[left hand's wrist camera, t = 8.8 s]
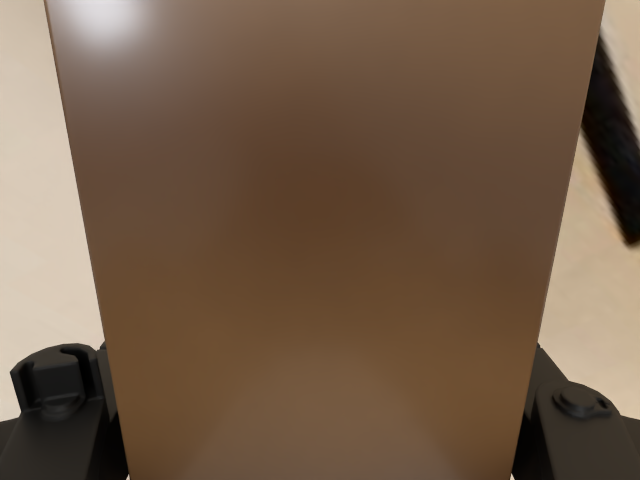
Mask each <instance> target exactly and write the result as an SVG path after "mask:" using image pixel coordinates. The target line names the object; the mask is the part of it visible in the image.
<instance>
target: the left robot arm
mask: <svg viewBox="0 0 640 480" xmlns="http://www.w3.org/2000/svg"><path fill="white" fill-rule="evenodd" d="M10 375H11V378H12V382H13V385H14V389H15V392H16V395H17V399H18V402H19V406H20V409H21V414H20V416H19V417H18V418H15V419H11V420H7V421H2V422H0V480H126V479H127V477H128V474H129V471H128V466H127V460H126V454H125V449H124V443H123V438H122V432H121V427H120V421H119V416H118V410H117V405H116V399H115V393H114V388H113V382H112V377H111V371H110V366H109V360H108V355H107V349H106V344H105V341H104V342H103V344H102V345H101V346H100V350H97V351H95V350H94V349H93V348H92V347H90V346H88V345H84V344H79V343H74V344H61V345H57V346H53V347H48V348H45V349H43V350H40V351H38V352H36V353H33V354H31V355H29V356H28V357H26V358H25V359H23V360H22V361H20V362H18V363H17V365H16V366H15V367H14V368H13V369H12V370H11V371H10ZM511 473H512V475H513V477H514V479H515V480H640V420H638V419H633V418H629V417H625V416H622V415H620V413H619V411H618V410H617V408H616V407H615V406H614V405H613V403H612V402H611V401H610V400H609V399H607V398H606V397H605V396H603V395H602V394H601V393H599V392H598V391H595V390H593V389H591V388H589V387H587V386H585V385H582V384H578V383H575V382H571V381H568V379H567V378H566V377H565V376H564V374H563V373H562V372H561V371H560V369H559V368H558V367H557V366H556V364H555V363H554V362H553V361H552V360H551V358H550V357H549V356H548V355H547V353H546V352H545V351H544V350H543V348H540V345H539V343H538V342H537V347H536V352H535V357H534V362H533V367H532V372H531V377H530V382H529V387H528V392H527V397H526V402H525V407H524V412H523V417H522V422H521V427H520V432H519V437H518V442H517V447H516V452H515V457H514V462H513V467H512V472H511Z"/></svg>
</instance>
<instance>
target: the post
mask: <svg viewBox="0 0 640 480" xmlns="http://www.w3.org/2000/svg"><path fill="white" fill-rule="evenodd" d="M44 5H45V11H46V16H47V22H48V27H49V33H50V38H51V44H52V50H53V55H54V61H55V66H56V72H57V77H58V83H59V88H60V94H61V99H62V105H63V111H64V116H65V122H66V127H67V133H68V138H69V144H70V149H71V155H72V160H73V166H74V172H75V177H76V183H77V188H78V194H79V199H80V205H81V210H82V216H83V221H84V227H85V233H86V238H87V244H88V249H89V255H90V260H91V266H92V271H93V277H94V283H95V288H96V294H97V299H98V305H99V310H100V316H101V321H102V327H103V332H104V338H105V344H106V349H107V355H108V360H109V366H110V371H111V377H112V382H113V388H114V393H115V399H116V405H117V410H118V416H119V421H120V427H121V432H122V438H123V443H124V449H125V454H126V460H127V466H128V471H129V477H130V480H510V477H511V472H512V467H513V462H514V457H515V452H516V447H517V442H518V437H519V432H520V427H521V422H522V417H523V412H524V407H525V402H526V397H527V392H528V387H529V382H530V377H531V372H532V367H533V362H534V357H535V352H536V347H537V342H538V337H539V332H540V327H541V322H542V317H543V312H544V307H545V301H546V296H547V291H548V286H549V281H550V276H551V271H552V266H553V261H554V256H555V251H556V246H557V241H558V236H559V231H560V226H561V221H562V216H563V211H564V206H565V201H566V196H567V191H568V186H569V181H570V176H571V171H572V166H573V161H574V156H575V151H576V146H577V141H578V136H579V131H580V126H581V121H582V116H583V111H584V106H585V101H586V96H587V91H588V86H589V81H590V75H591V70H592V65H593V60H594V55H595V50H596V45H597V40H598V35H599V30H600V25H601V20H602V15H603V10H604V5H605V0H44Z"/></svg>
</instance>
